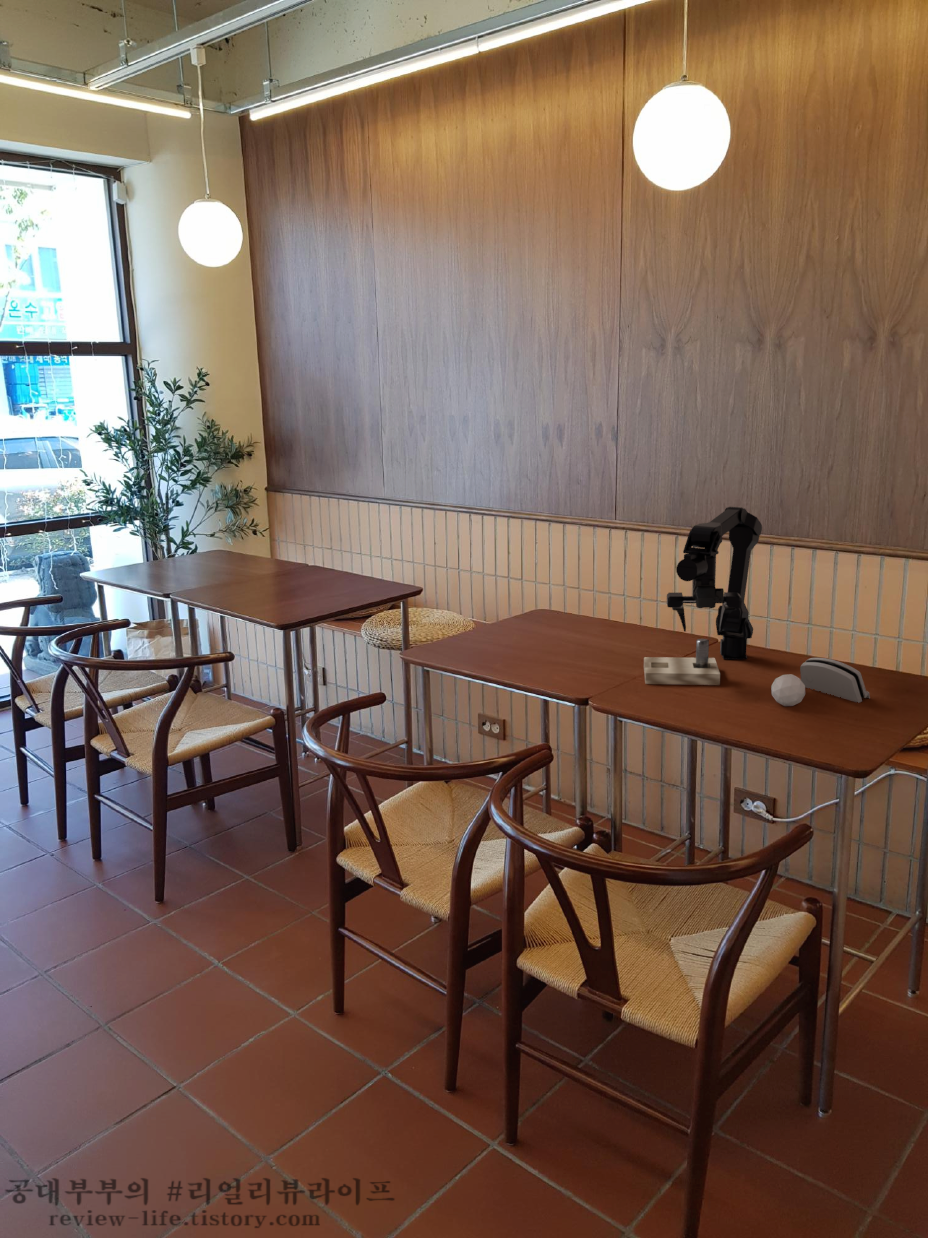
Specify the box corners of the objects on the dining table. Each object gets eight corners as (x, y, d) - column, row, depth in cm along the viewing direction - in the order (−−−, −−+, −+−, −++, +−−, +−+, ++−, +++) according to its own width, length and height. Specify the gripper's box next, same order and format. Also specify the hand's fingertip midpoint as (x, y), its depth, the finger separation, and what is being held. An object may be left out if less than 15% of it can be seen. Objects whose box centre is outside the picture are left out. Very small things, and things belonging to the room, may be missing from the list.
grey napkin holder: (871, 698, 229) (866, 664, 225) (860, 708, 227) (854, 674, 223) (812, 681, 243) (806, 649, 238) (801, 691, 241) (795, 659, 236)
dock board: (714, 668, 256) (714, 657, 255) (719, 684, 243) (720, 674, 242) (643, 667, 259) (643, 657, 259) (645, 683, 246) (645, 673, 245)
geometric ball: (786, 718, 226) (776, 698, 221) (771, 697, 232) (761, 677, 228) (815, 703, 225) (806, 682, 220) (799, 682, 231) (789, 662, 227)
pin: (707, 674, 252) (708, 638, 249) (708, 678, 248) (709, 642, 246) (694, 674, 252) (695, 638, 249) (695, 678, 249) (696, 642, 246)
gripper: (669, 580, 237) (668, 639, 241) (745, 580, 234) (743, 640, 238) (666, 571, 248) (666, 628, 252) (739, 570, 244) (737, 628, 249)
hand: (702, 631), depth 247 cm, fingers open, 9 cm apart
